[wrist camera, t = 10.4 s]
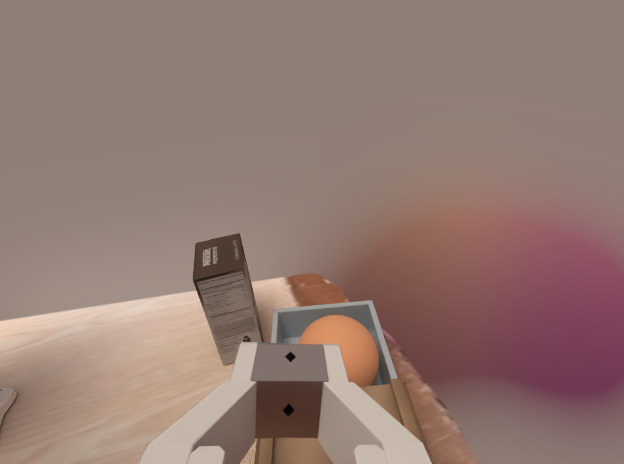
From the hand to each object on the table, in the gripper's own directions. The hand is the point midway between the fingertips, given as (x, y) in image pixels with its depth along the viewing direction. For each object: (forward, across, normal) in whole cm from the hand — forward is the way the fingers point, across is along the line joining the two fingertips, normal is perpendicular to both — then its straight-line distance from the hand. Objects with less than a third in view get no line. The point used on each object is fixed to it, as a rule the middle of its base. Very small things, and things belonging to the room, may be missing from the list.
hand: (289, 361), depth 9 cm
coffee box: (+33, +6, +23) cm, 41 cm away
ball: (+22, -6, +17) cm, 29 cm away
